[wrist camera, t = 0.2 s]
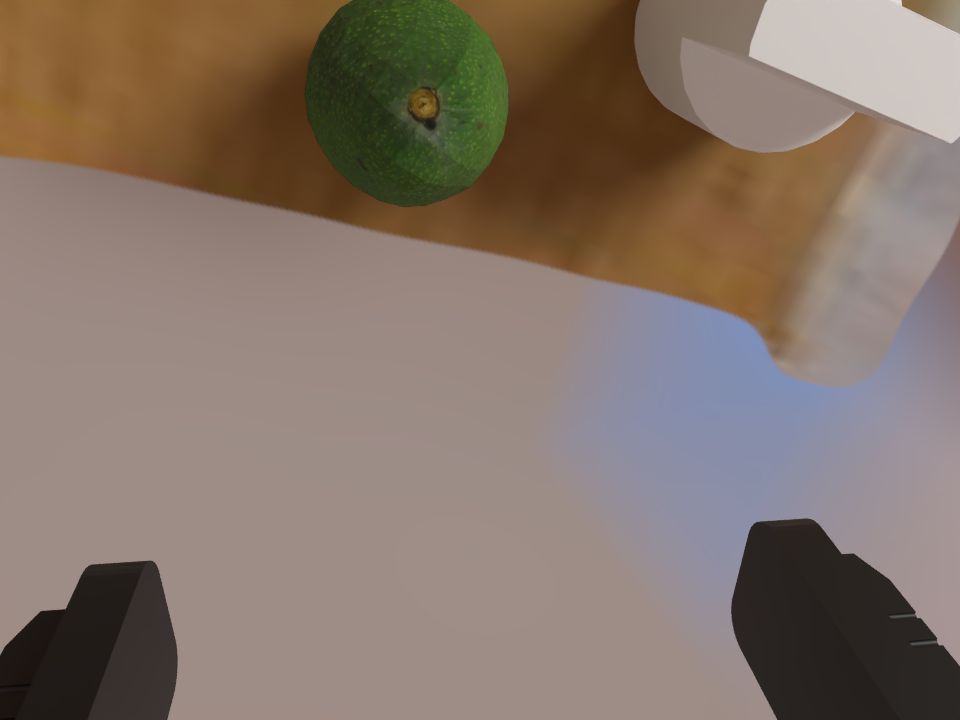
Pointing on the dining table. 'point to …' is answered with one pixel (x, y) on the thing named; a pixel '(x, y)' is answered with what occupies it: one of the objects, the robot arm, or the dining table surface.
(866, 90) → the cylinder with rectangular tab
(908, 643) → the robot arm
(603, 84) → the dining table surface
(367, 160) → the fruit
